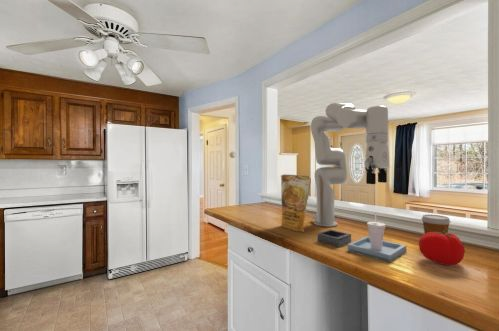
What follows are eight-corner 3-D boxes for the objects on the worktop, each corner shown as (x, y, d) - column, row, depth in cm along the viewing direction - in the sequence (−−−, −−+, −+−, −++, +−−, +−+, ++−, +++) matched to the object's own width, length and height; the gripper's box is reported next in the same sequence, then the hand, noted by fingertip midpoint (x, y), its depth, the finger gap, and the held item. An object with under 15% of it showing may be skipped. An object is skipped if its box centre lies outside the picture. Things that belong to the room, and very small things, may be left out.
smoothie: (382, 246, 99) (382, 211, 99) (388, 251, 93) (388, 214, 93) (365, 245, 100) (365, 210, 100) (369, 250, 94) (369, 213, 94)
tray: (347, 250, 97) (347, 244, 97) (366, 242, 107) (366, 236, 107) (390, 262, 86) (390, 255, 86) (406, 251, 96) (406, 245, 95)
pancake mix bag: (285, 223, 140) (285, 174, 140) (312, 231, 125) (311, 175, 125) (276, 225, 137) (276, 174, 136) (302, 233, 121) (302, 175, 121)
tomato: (450, 272, 77) (450, 238, 77) (410, 259, 89) (410, 229, 89) (474, 265, 83) (474, 233, 83) (434, 253, 94) (434, 225, 94)
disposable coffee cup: (420, 241, 108) (420, 213, 108) (448, 244, 103) (448, 215, 103) (422, 247, 100) (422, 217, 100) (452, 251, 95) (452, 220, 95)
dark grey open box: (317, 241, 109) (317, 233, 109) (330, 237, 115) (330, 229, 115) (338, 247, 101) (338, 238, 101) (351, 242, 108) (351, 234, 108)
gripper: (376, 136, 88) (376, 185, 88) (396, 139, 99) (396, 182, 99) (356, 138, 94) (356, 183, 94) (376, 140, 105) (376, 181, 105)
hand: (376, 183), depth 97 cm, fingers open, 9 cm apart
